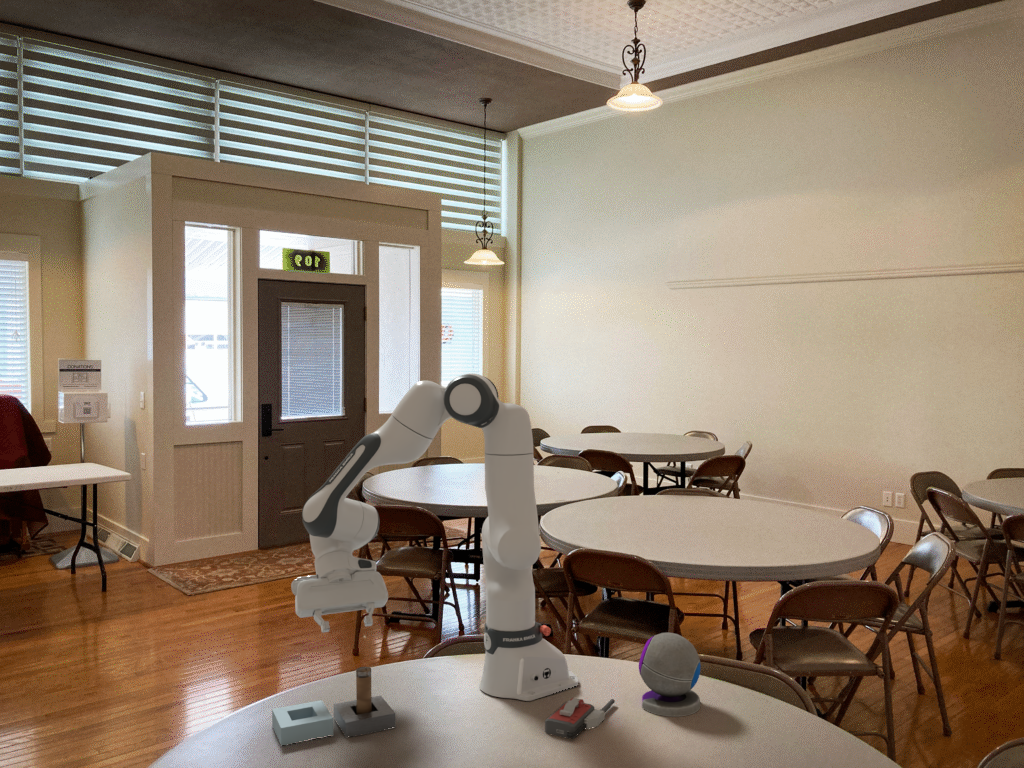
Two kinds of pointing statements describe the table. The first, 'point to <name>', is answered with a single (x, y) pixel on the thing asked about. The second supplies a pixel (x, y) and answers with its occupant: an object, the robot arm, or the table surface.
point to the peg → (363, 690)
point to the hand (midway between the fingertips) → (347, 627)
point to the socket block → (364, 717)
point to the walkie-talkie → (575, 718)
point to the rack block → (302, 722)
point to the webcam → (670, 675)
